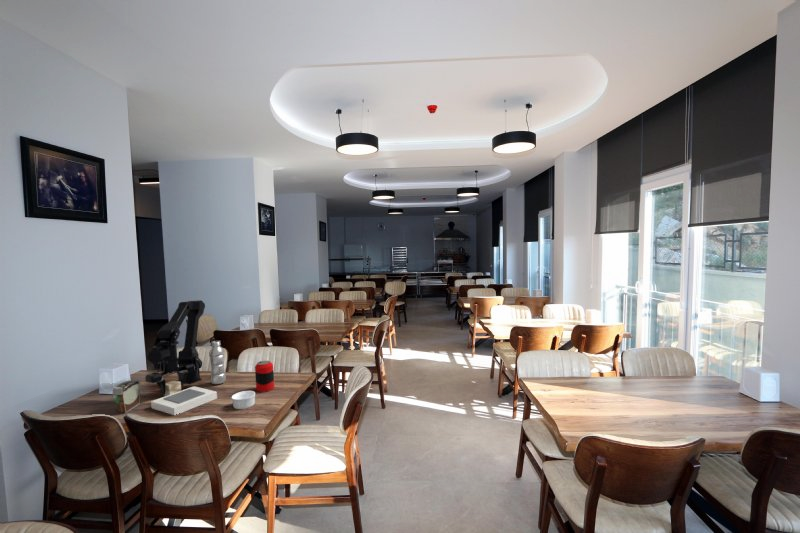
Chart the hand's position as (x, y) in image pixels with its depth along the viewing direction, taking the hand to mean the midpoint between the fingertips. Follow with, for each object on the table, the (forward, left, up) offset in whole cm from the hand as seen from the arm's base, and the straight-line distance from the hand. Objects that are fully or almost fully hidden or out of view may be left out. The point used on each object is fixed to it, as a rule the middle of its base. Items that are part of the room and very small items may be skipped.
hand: (172, 391), depth 170 cm
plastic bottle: (-17, +8, -1) cm, 19 cm away
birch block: (0, 0, -1) cm, 1 cm away
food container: (+18, -2, -1) cm, 18 cm away
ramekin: (-5, +41, -1) cm, 41 cm away
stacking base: (+4, +16, -1) cm, 17 cm away
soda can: (-21, +35, -1) cm, 41 cm away
